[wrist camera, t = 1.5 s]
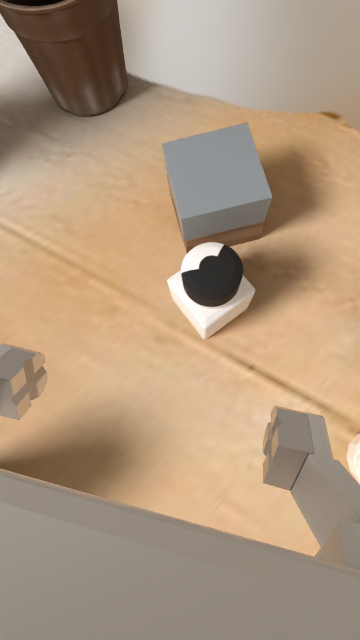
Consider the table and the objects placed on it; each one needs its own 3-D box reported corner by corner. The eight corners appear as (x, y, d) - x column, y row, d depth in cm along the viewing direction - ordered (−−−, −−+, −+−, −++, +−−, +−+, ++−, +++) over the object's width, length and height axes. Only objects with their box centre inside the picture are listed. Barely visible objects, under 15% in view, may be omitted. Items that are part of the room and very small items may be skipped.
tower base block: (170, 196, 48) (166, 173, 43) (238, 178, 48) (241, 153, 43) (187, 258, 45) (186, 241, 40) (259, 239, 45) (265, 220, 40)
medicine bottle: (248, 307, 43) (265, 273, 31) (204, 341, 42) (205, 318, 30) (214, 267, 44) (218, 220, 33) (171, 298, 44) (159, 261, 32)
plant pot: (117, 32, 55) (82, -113, 40) (158, 100, 51) (139, -32, 36) (28, 73, 55) (-43, -59, 39) (63, 144, 51) (1, 30, 35)
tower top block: (166, 172, 43) (162, 143, 38) (242, 154, 43) (247, 122, 38) (184, 241, 40) (181, 219, 35) (264, 221, 40) (272, 197, 35)
